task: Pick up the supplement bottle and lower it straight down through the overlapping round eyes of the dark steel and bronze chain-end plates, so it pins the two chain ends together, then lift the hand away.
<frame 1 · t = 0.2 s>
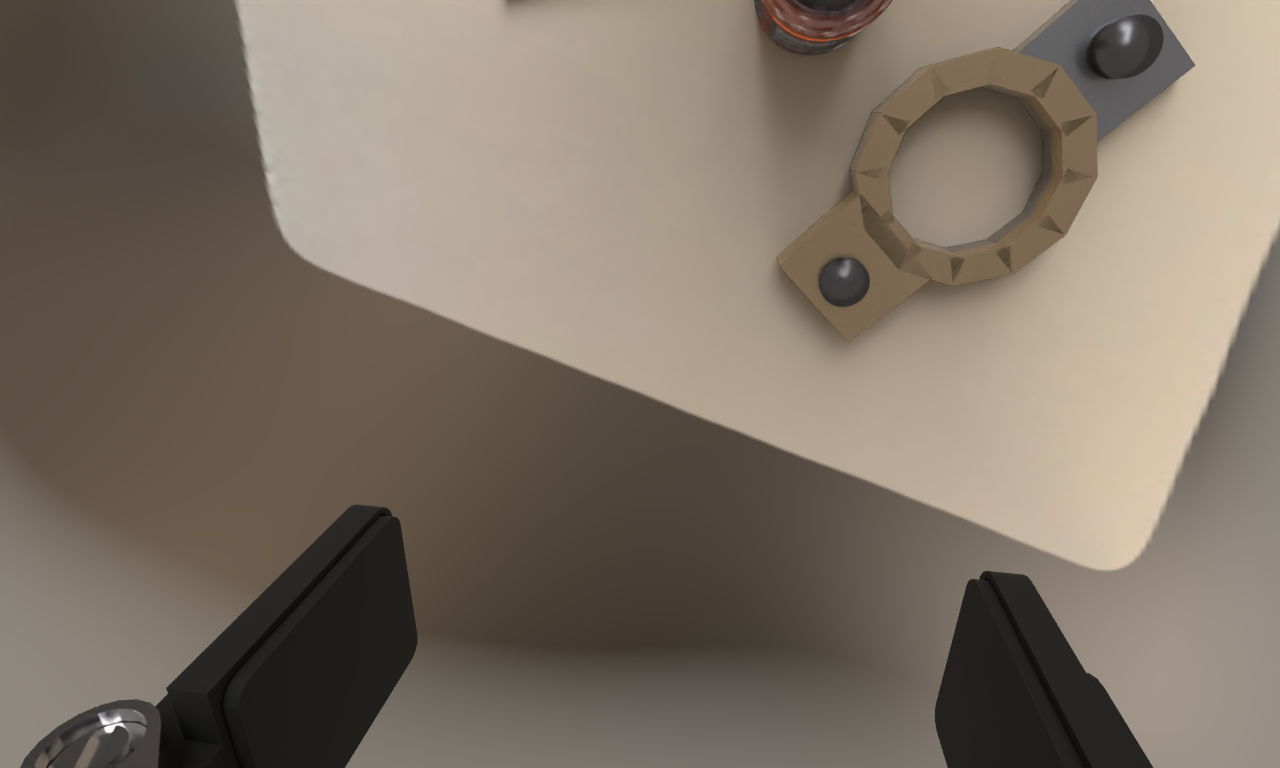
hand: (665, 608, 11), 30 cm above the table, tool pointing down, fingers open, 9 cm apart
chain end 2: (1006, 140, 33), in the chain end 1
chain end 1: (959, 170, 35), on the table
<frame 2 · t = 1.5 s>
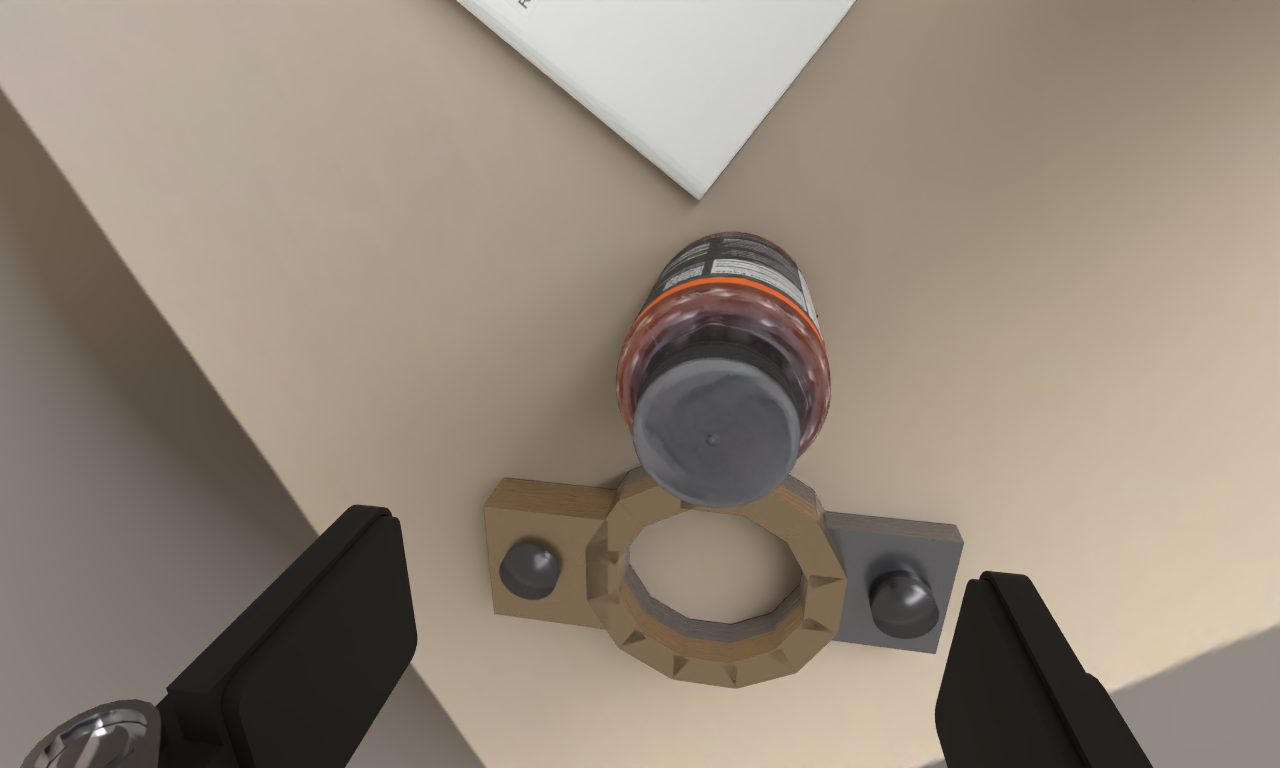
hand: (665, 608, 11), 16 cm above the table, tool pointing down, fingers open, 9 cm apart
supplement bottle: (732, 303, 26), on the table
chain end 2: (714, 555, 30), on the table
chain end 1: (714, 555, 30), on the table
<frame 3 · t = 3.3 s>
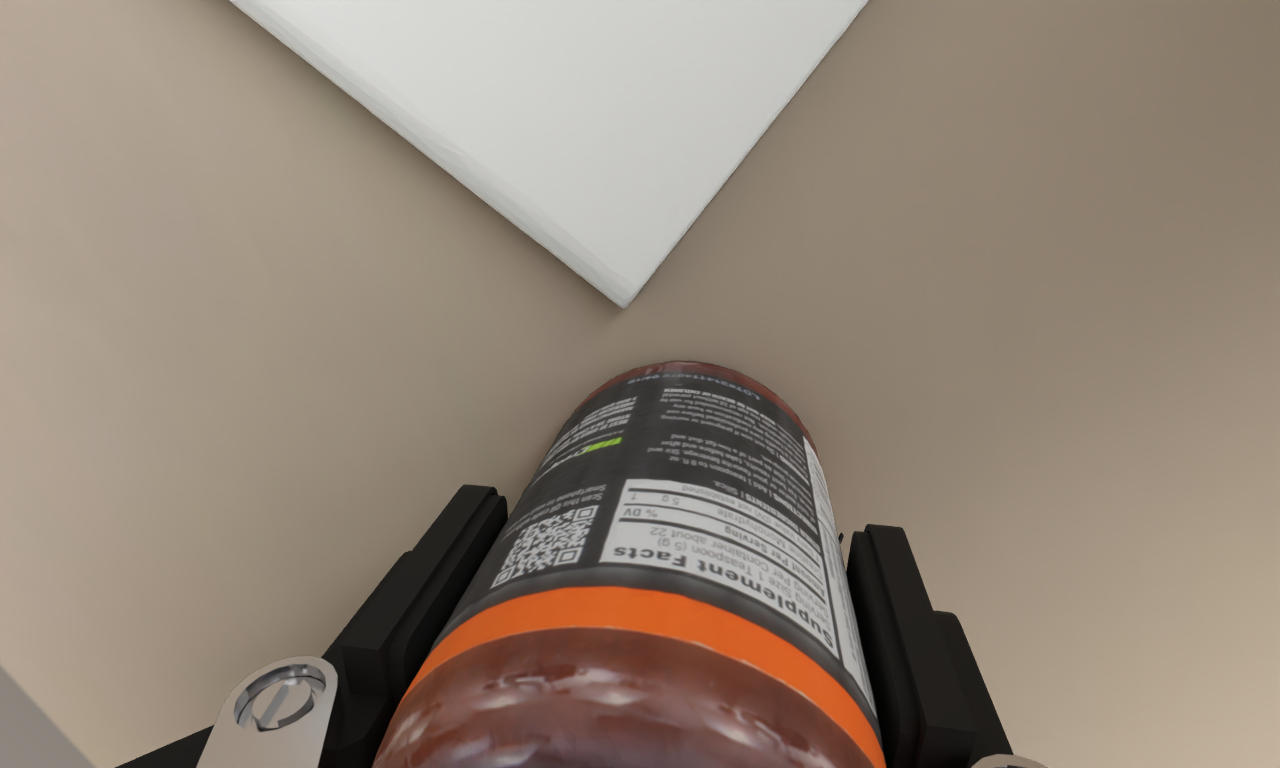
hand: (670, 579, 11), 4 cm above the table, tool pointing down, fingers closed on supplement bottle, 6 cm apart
supplement bottle: (689, 470, 15), on the table, touching gripper
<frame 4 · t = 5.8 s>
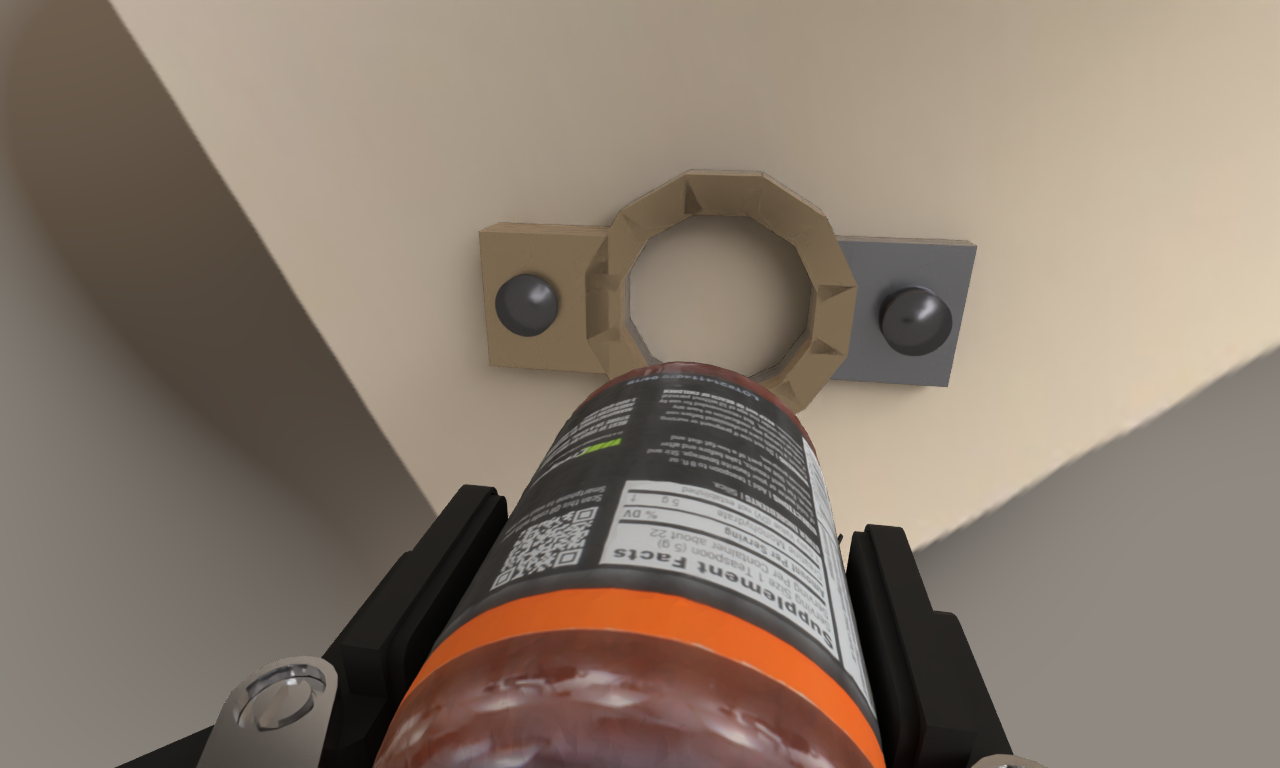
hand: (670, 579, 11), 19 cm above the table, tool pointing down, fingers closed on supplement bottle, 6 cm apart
supplement bottle: (688, 470, 15), point 16 cm above the table, touching gripper
chain end 2: (769, 309, 28), in the chain end 1
chain end 1: (717, 299, 29), on the table
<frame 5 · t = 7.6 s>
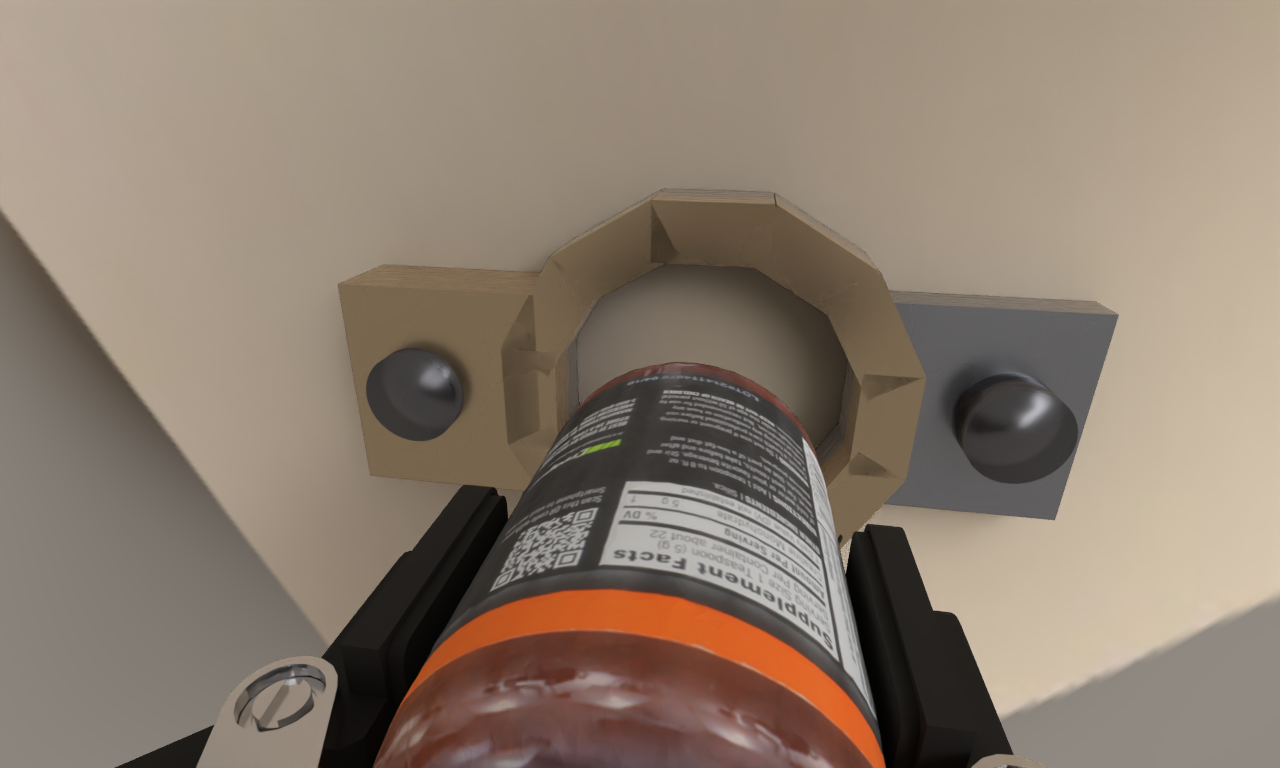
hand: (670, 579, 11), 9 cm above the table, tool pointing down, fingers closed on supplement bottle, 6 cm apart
supplement bottle: (688, 471, 15), point 5 cm above the table, touching gripper
chain end 2: (784, 401, 18), in the chain end 1
chain end 1: (706, 379, 20), on the table
when the fingers open (5 cm above the table, at t = 8.8 s): supplement bottle drops 2 cm, resting in chain end 2.
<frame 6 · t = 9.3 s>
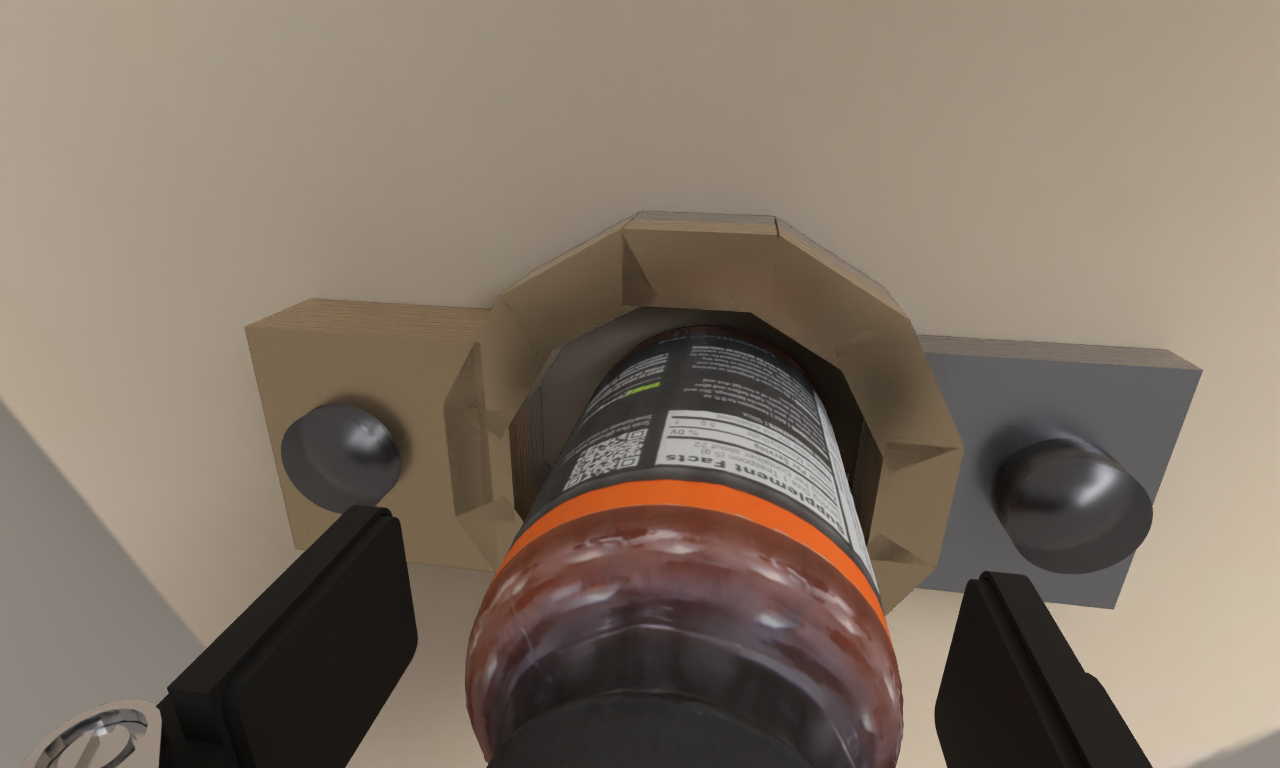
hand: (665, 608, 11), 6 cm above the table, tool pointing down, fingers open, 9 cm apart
supplement bottle: (709, 427, 17), resting in chain end 2
chain end 2: (695, 435, 17), on the table
chain end 1: (695, 435, 17), on the table
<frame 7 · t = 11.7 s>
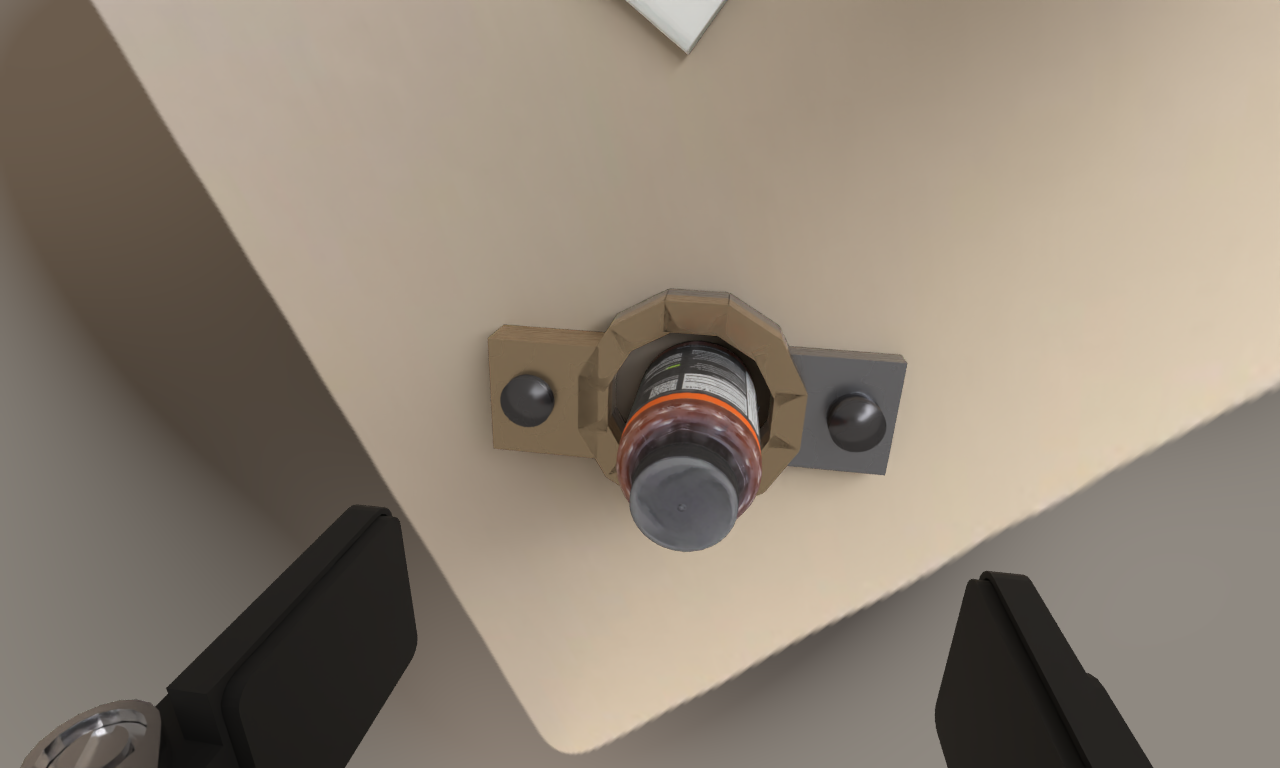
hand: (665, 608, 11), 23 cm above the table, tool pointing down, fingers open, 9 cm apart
supplement bottle: (698, 390, 34), resting in chain end 2
chain end 2: (691, 394, 34), on the table
chain end 1: (691, 394, 34), on the table
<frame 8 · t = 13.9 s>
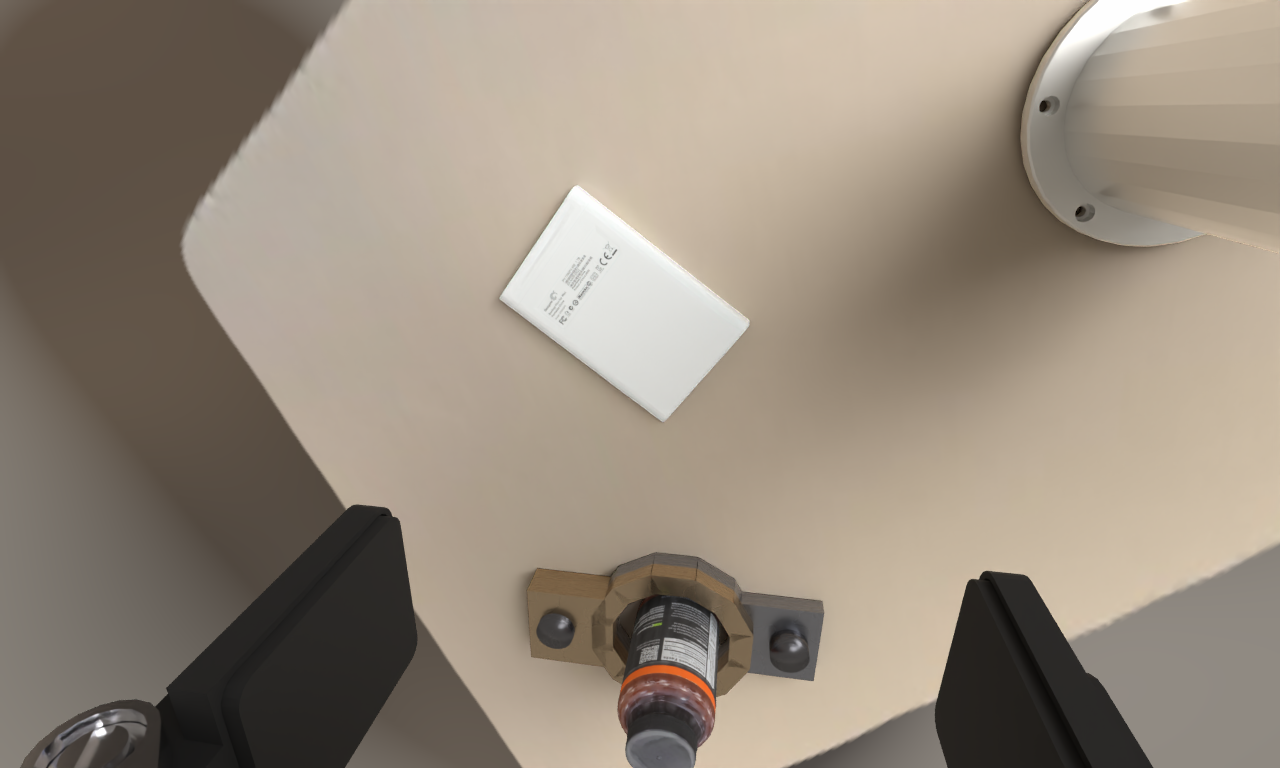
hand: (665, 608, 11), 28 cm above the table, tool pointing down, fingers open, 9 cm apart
supplement bottle: (679, 614, 47), resting in chain end 2
external hard drive: (625, 304, 39), on the table
chain end 2: (674, 617, 47), on the table
chain end 1: (674, 617, 47), on the table
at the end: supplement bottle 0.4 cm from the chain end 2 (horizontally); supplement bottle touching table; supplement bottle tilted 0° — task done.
